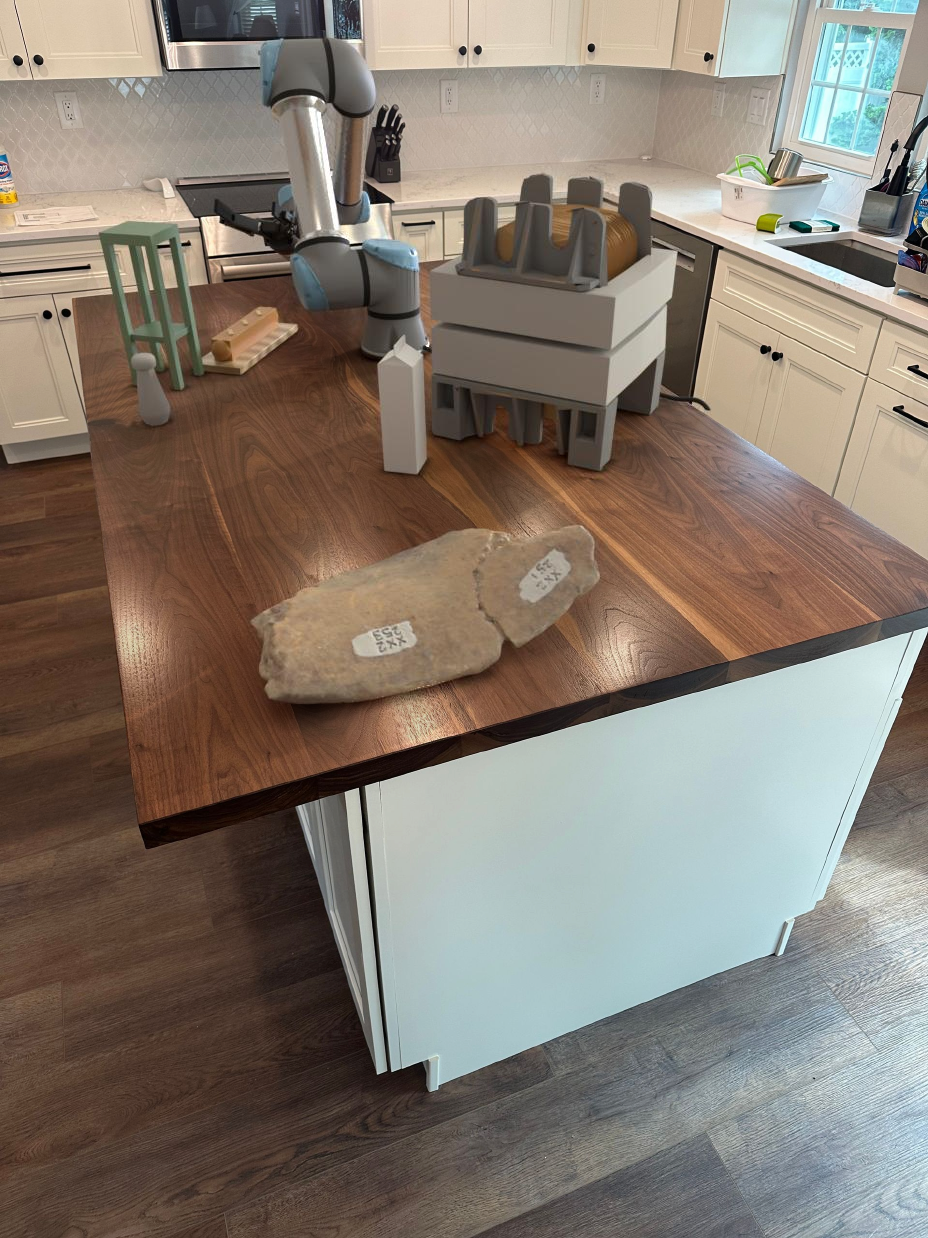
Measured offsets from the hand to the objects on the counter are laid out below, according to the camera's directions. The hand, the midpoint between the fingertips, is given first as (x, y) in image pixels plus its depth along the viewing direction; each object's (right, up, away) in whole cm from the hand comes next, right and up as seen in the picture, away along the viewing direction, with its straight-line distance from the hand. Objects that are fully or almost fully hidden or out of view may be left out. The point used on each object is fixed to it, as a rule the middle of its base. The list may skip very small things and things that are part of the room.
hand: (244, 206), depth 193 cm
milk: (+37, -62, -37) cm, 81 cm away
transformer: (+63, -51, -22) cm, 84 cm away
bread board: (-2, -27, +11) cm, 30 cm away
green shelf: (-15, -38, -4) cm, 41 cm away
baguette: (-2, -26, +11) cm, 28 cm away
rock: (+41, -90, -75) cm, 124 cm away
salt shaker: (-12, -51, -21) cm, 56 cm away
